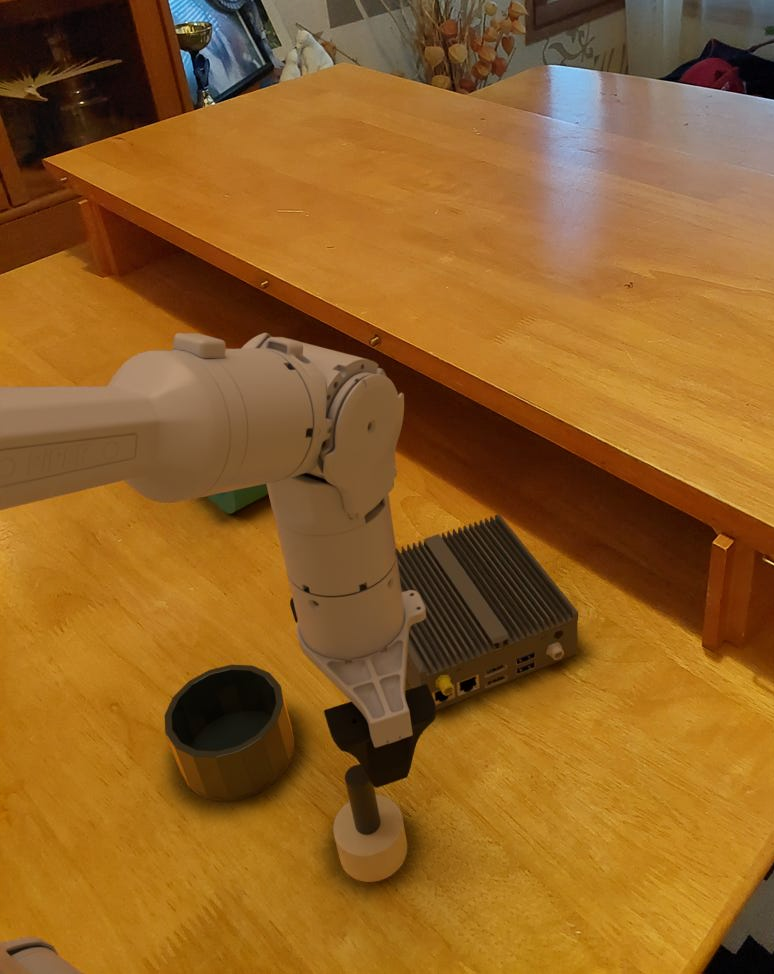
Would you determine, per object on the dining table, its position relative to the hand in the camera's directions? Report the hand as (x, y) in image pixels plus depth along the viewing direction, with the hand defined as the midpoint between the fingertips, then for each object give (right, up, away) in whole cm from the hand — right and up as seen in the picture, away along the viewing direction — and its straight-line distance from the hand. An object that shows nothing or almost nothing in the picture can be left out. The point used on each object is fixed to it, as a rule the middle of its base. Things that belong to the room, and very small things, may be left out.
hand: (372, 728), depth 56 cm
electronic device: (+6, +3, +20) cm, 21 cm away
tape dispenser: (-19, +15, +38) cm, 45 cm away
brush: (0, -9, +4) cm, 10 cm away
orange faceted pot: (-11, -5, +11) cm, 16 cm away
